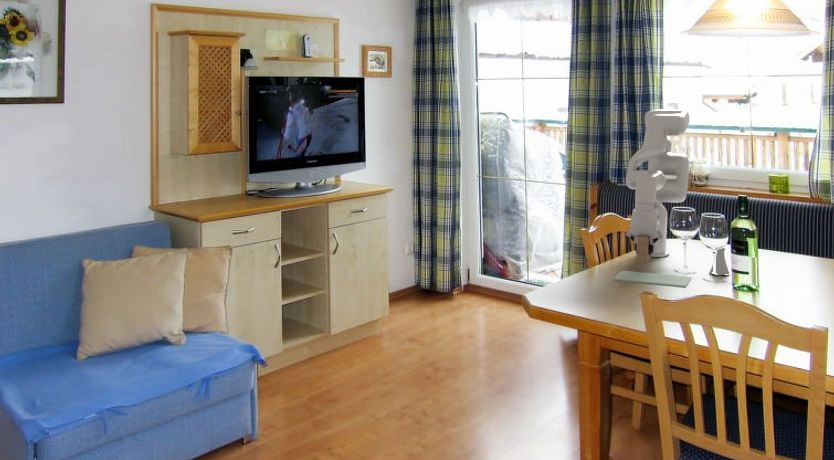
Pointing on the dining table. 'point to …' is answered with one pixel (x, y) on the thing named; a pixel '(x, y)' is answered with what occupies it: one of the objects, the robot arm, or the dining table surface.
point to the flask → (720, 263)
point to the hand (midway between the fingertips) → (643, 253)
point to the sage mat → (653, 278)
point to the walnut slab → (643, 249)
